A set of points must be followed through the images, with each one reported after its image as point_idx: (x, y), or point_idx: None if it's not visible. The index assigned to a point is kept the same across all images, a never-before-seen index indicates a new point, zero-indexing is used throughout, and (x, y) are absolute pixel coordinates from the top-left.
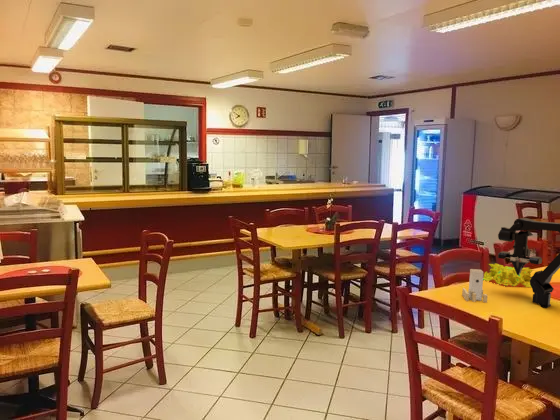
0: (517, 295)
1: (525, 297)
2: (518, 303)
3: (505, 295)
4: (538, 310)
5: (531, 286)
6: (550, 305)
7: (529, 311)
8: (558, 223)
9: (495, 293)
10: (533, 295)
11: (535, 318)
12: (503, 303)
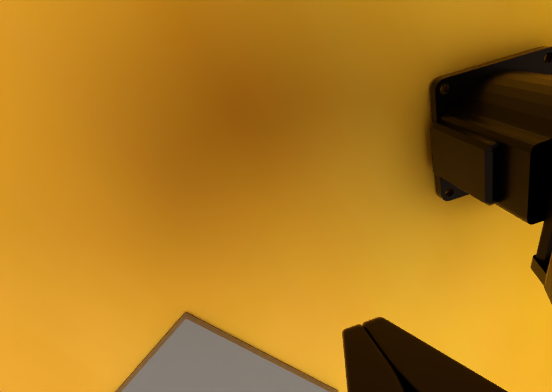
0: (186, 34)
1: (282, 21)
2: (352, 261)
3: (129, 170)
4: (510, 260)
5: (547, 281)
6: (550, 70)
7: (477, 327)
8: None
9: (23, 210)
10: (485, 201)
11: (537, 382)
12: (290, 361)
